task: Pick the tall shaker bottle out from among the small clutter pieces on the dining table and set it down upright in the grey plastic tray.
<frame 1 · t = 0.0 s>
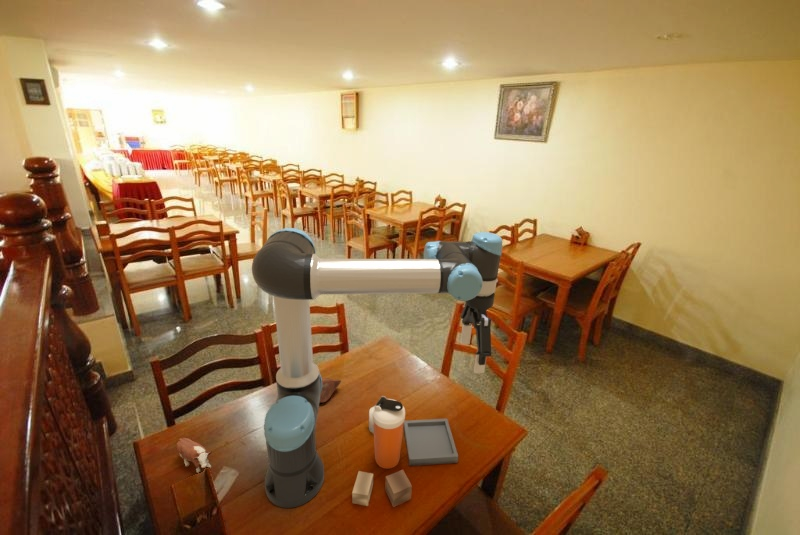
hand: (471, 357, 101), 28 cm above the table, fingers open, 13 cm apart
ceramic shaker: (375, 428, 111), on the table
shaker bottle: (387, 458, 101), on the table
oak block: (363, 493, 91), on the table
bull figurine: (198, 466, 97), on the table
tray: (429, 443, 106), on the table
fossil: (322, 397, 123), on the table
walnut block: (397, 494, 91), on the table
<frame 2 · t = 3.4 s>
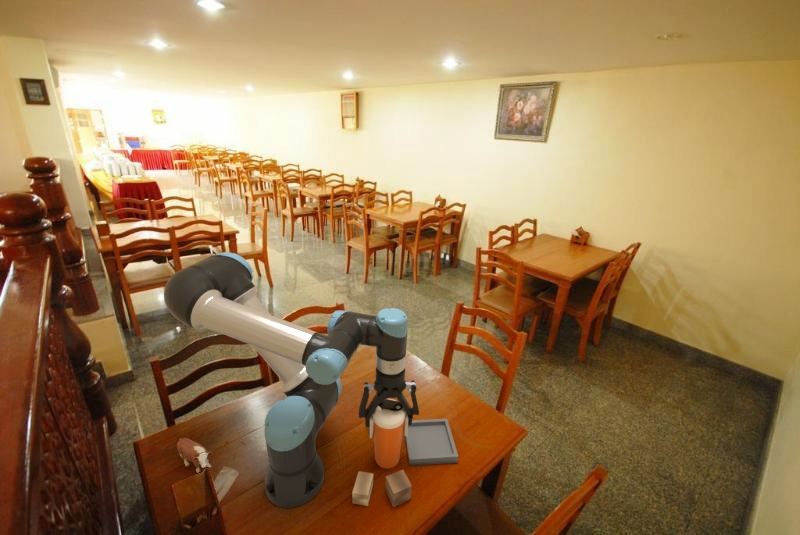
hand: (388, 433, 98), 9 cm above the table, fingers closed on shaker bottle, 9 cm apart
shaker bottle: (387, 458, 101), on the table, touching gripper
everything else where it was.
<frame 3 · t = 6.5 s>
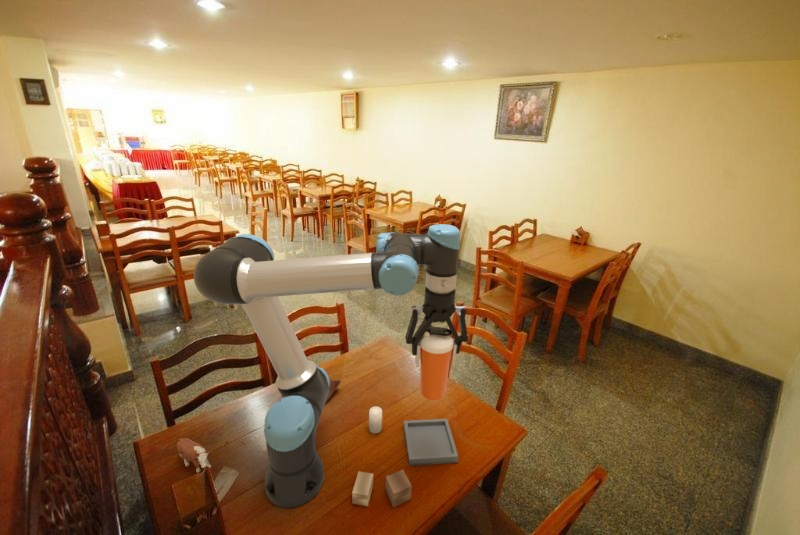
hand: (434, 363, 95), 30 cm above the table, fingers closed on shaker bottle, 9 cm apart
shaker bottle: (432, 391, 98), point 20 cm above the table, touching gripper
everything else where it was.
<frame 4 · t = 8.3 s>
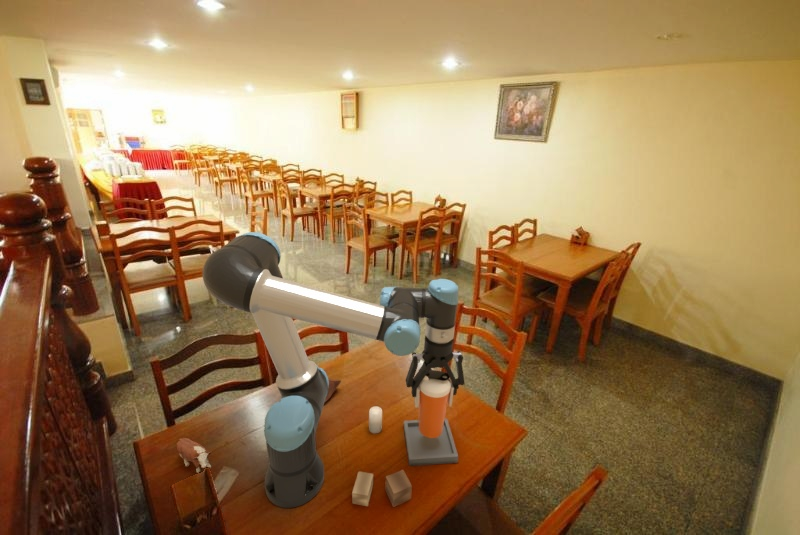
hand: (432, 403, 101), 16 cm above the table, fingers closed on shaker bottle, 9 cm apart
shaker bottle: (430, 429, 104), point 6 cm above the table, touching gripper
everything else where it was.
when the fingers open (11 cm above the table, at t = 9.7 s): shaker bottle stays where it is, resting on tray.
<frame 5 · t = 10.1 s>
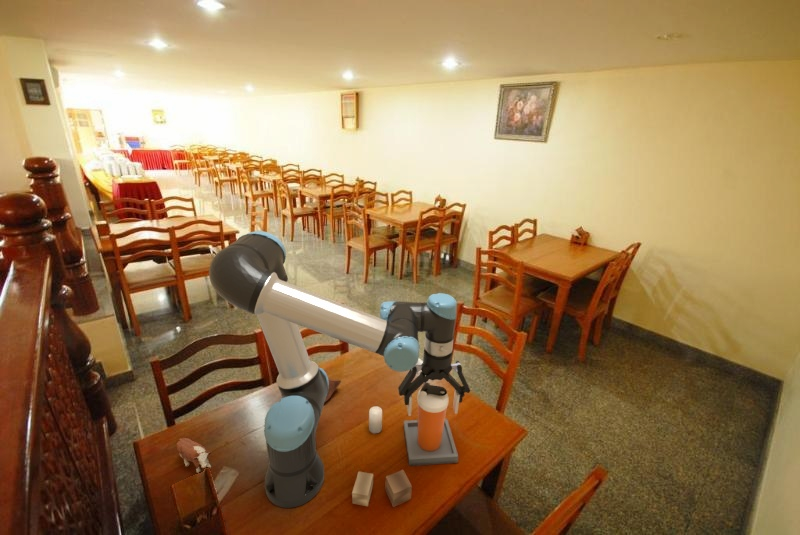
hand: (432, 411, 102), 13 cm above the table, fingers open, 13 cm apart
shaker bottle: (429, 441, 106), point 1 cm above the table, touching tray
everything else where it was.
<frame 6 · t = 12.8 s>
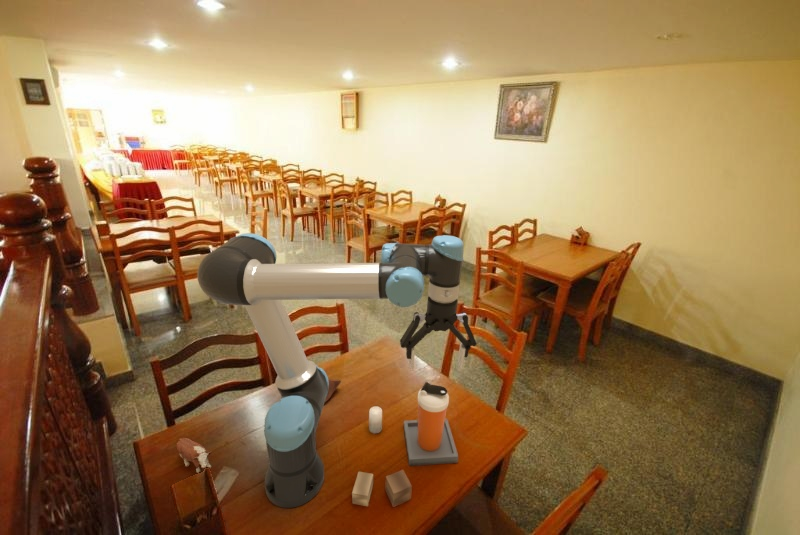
hand: (435, 366, 96), 28 cm above the table, fingers open, 13 cm apart
nothing on the table moved.
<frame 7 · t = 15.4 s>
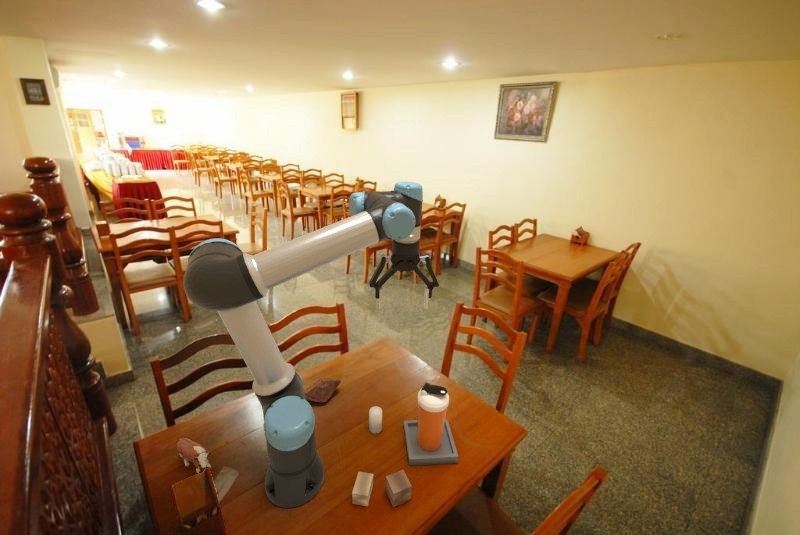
hand: (403, 307, 105), 39 cm above the table, fingers open, 13 cm apart
nothing on the table moved.
at the end: shaker bottle inside the target area on the tray (0.1 cm from its centre), point 1.1 cm above the tray's base; shaker bottle tilted 0°; the gripper is holding nothing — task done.
